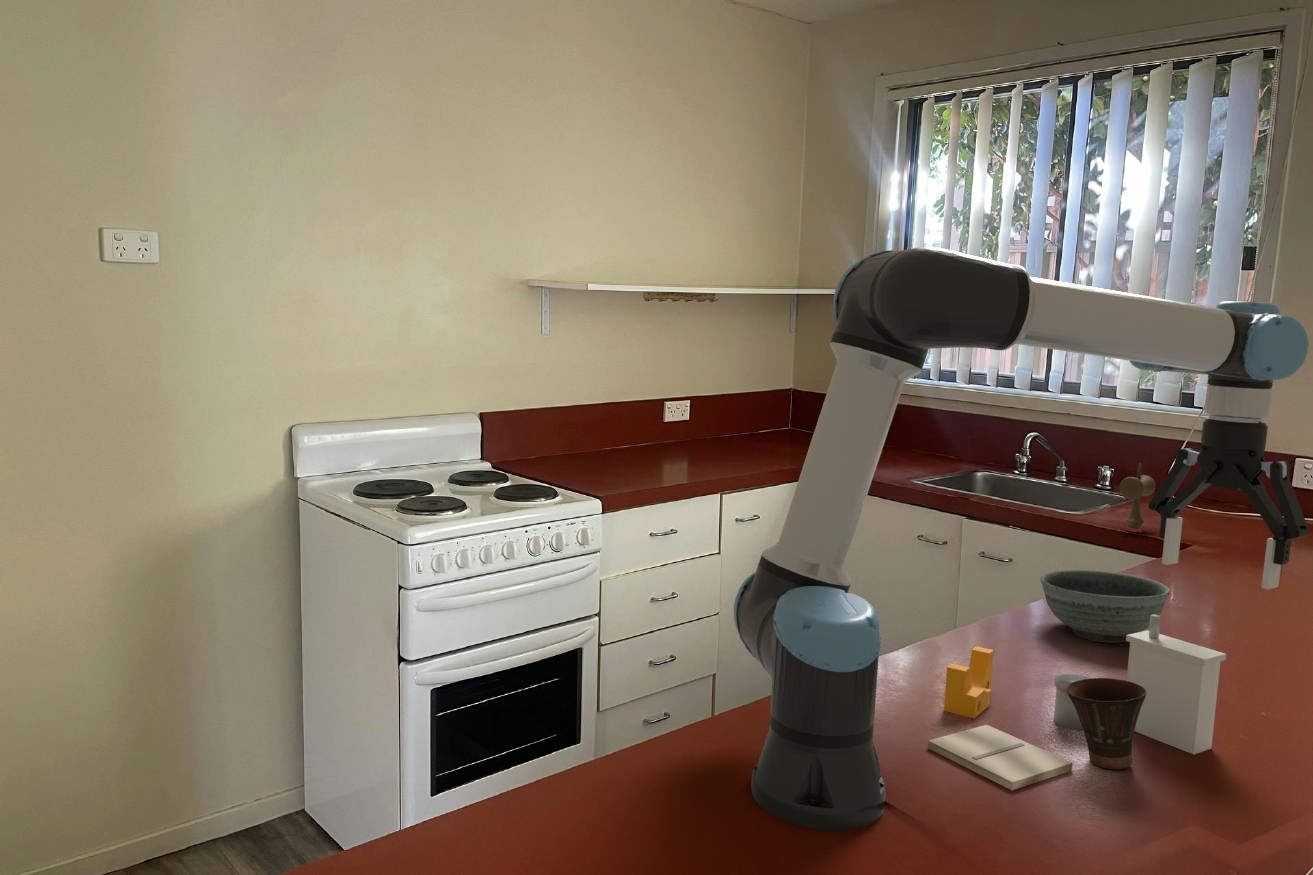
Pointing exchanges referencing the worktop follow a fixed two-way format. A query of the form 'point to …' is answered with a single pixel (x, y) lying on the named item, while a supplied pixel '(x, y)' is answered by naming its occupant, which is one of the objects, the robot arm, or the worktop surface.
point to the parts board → (1000, 756)
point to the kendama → (1136, 495)
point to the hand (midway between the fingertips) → (1217, 575)
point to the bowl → (1103, 602)
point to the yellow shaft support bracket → (970, 684)
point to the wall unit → (1174, 688)
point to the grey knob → (1066, 702)
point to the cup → (1108, 718)
